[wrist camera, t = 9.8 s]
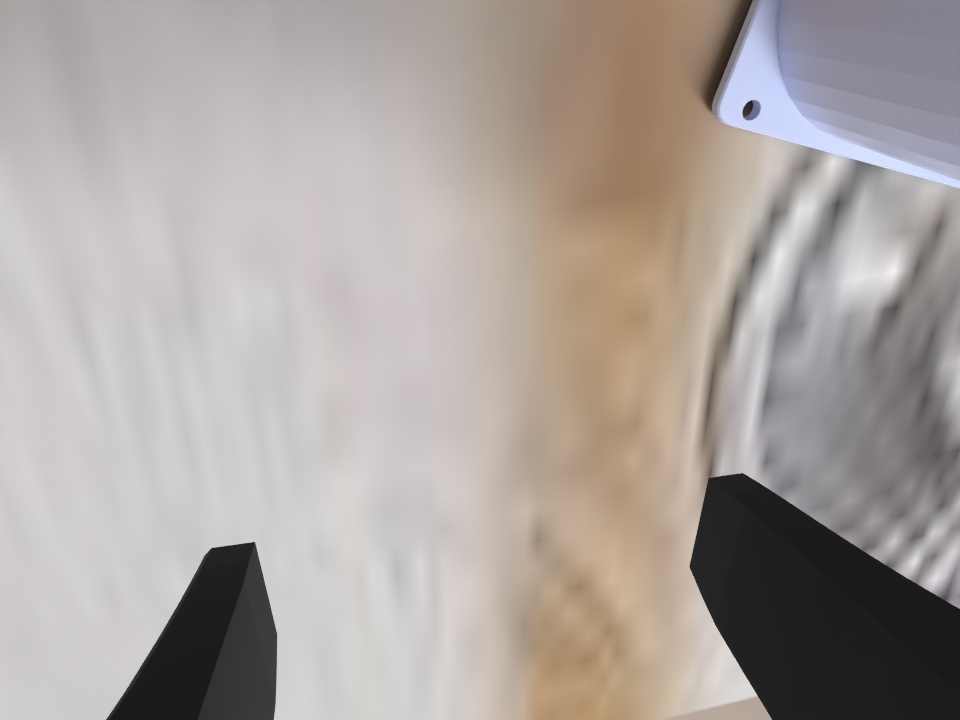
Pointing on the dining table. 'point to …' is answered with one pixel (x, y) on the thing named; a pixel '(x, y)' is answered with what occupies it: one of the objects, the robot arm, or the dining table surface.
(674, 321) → the dining table surface
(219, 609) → the robot arm
